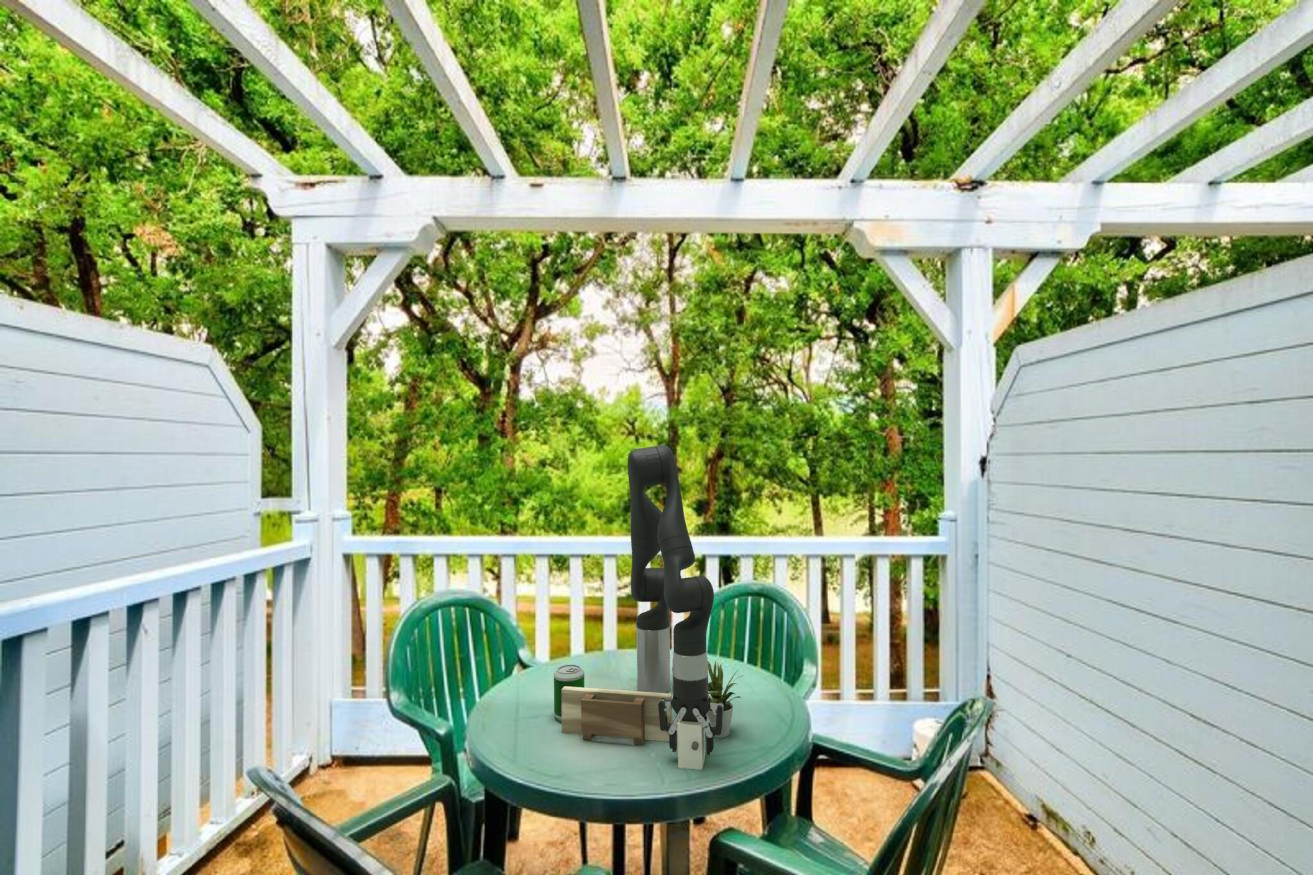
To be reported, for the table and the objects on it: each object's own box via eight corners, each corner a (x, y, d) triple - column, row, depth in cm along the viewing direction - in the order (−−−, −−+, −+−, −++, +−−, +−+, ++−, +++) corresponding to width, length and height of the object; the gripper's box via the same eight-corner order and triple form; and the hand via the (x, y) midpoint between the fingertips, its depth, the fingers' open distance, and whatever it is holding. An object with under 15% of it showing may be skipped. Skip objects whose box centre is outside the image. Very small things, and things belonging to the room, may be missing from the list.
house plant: (674, 723, 144) (673, 655, 144) (724, 713, 149) (723, 647, 150) (701, 750, 131) (700, 675, 131) (755, 737, 136) (754, 665, 136)
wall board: (564, 728, 142) (564, 686, 142) (672, 737, 137) (671, 693, 137) (556, 739, 137) (556, 695, 137) (667, 749, 132) (667, 703, 132)
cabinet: (684, 747, 132) (683, 706, 132) (706, 749, 131) (706, 708, 131) (677, 769, 123) (676, 725, 123) (701, 772, 122) (700, 727, 122)
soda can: (579, 725, 144) (578, 675, 144) (549, 722, 145) (549, 673, 146) (588, 711, 151) (588, 664, 151) (560, 709, 153) (560, 662, 153)
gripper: (725, 667, 128) (727, 746, 128) (660, 664, 131) (661, 740, 131) (722, 681, 121) (723, 764, 121) (653, 676, 124) (654, 757, 124)
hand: (691, 751), depth 126 cm, fingers open, 6 cm apart
